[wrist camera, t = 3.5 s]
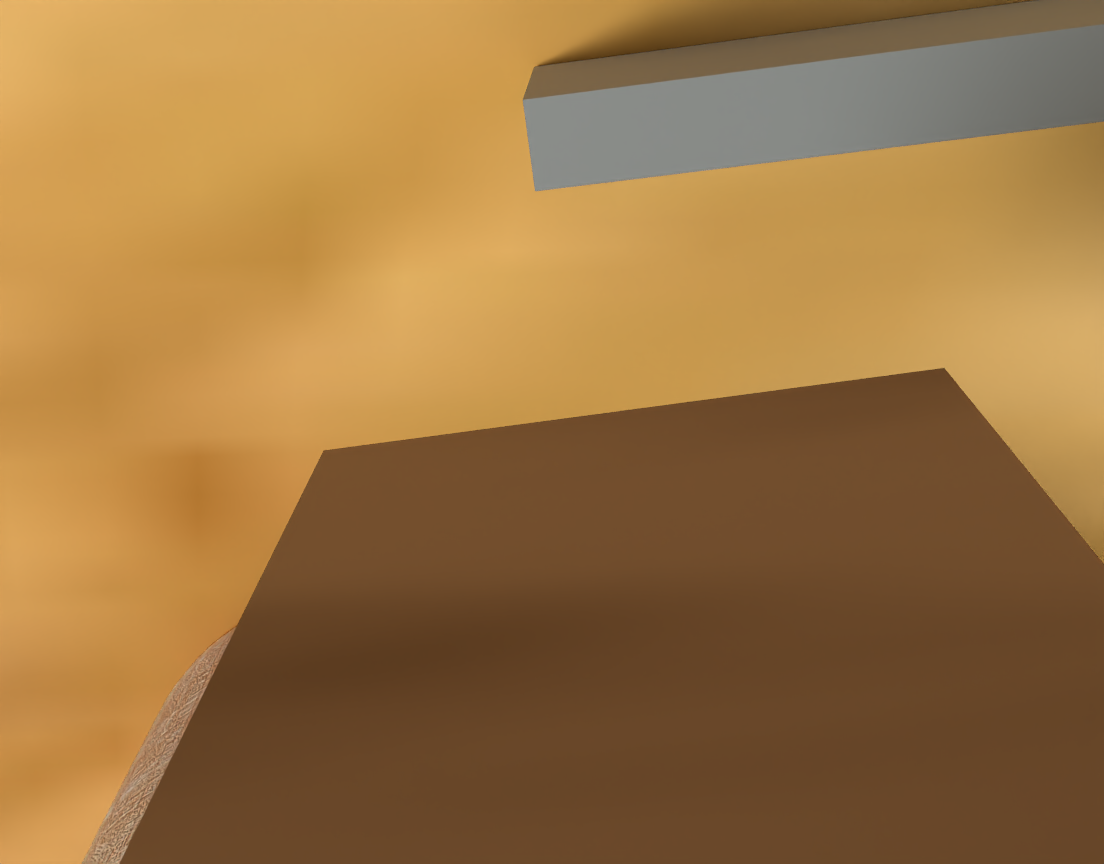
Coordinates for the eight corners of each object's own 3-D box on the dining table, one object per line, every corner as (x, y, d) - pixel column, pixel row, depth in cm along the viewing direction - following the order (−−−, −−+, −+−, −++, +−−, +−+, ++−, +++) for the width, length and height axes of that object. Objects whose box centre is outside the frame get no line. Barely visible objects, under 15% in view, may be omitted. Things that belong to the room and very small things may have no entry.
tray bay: (1231, 946, 25) (1324, 1092, 22) (652, 980, 26) (661, 1123, 23) (1472, -58, 15) (1702, -55, 12) (533, 66, 16) (522, 100, 13)
